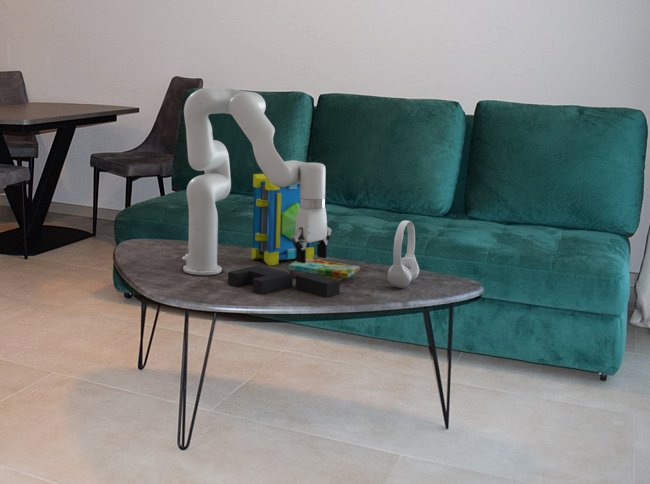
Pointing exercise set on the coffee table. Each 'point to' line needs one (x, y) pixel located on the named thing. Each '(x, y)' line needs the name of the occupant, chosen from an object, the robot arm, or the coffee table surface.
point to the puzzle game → (323, 268)
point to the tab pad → (317, 284)
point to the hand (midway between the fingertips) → (311, 259)
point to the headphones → (407, 265)
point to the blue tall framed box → (275, 221)
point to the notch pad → (261, 278)
